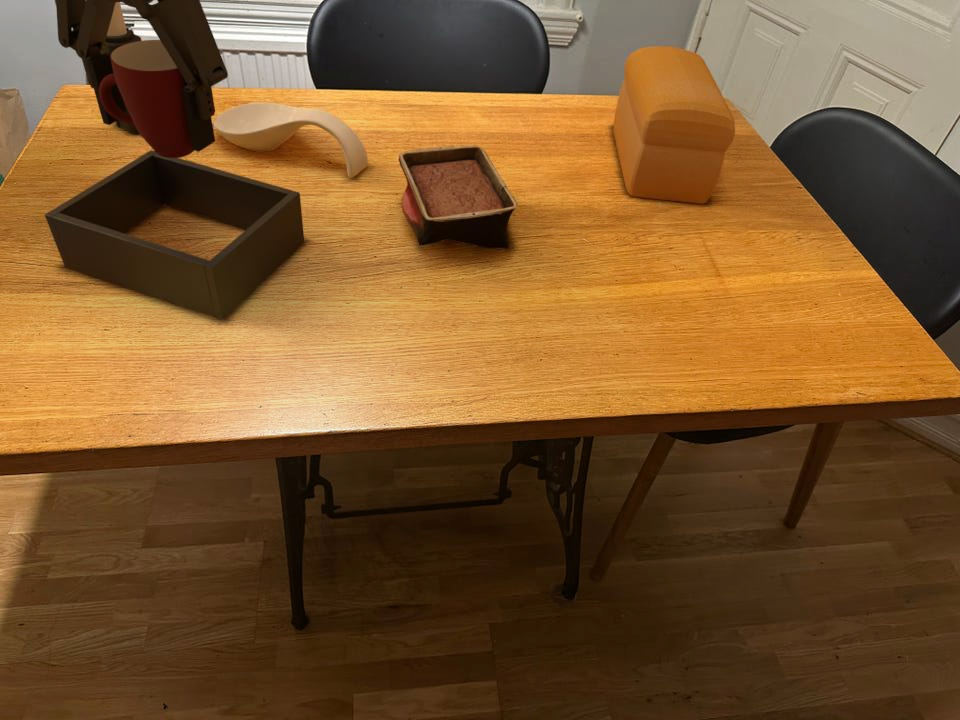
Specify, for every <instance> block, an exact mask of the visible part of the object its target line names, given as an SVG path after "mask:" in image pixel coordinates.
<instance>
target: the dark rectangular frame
mask: <svg viewBox="0 0 960 720" xmlns="http://www.w3.org/2000/svg"><path fill="white" fill-rule="evenodd" d="M163 206H168V207H171V208H175V209H178V210H182V211H185V212H188V213H191V214H195V215H198V216H201V217H205V218H209V219H211V220H214V221H218V222H222V223H225V224H228V225H230V226H231V225H232V226H234V227H237V228H241V229H245V230H244V231H243V232H242V233H240V234H239V235H238V236H237V237H235V239H234V240H232V241H231V242H230V243H229V244H228V245H227V246H225V247H224V248H222V249H221V250H220V251H219V252H218V253H217V254H215V255H214V256H213V257H212V258H211V259H210V260H209V259H207V258H203V257H200V256H197V255H194V254H191V253H187V252H185V251H181V250H179V249H175V248H172V247H168V246H165V245H162V244H160V243H156V242H153V241H150V240H146V239H143V238H141V237H137V236H134V235H130V234H127V231H129V230H131V229H132V228H133V227H135V226H137V225H138V224H139V223H141V222H142V221H143V220H145V219H146V218H148V217H149V216H150V215H152V214H153V213H155V212H156V211H158V210H159V209H161V208H162V207H163ZM44 217H45V220H46V223H47V225H48V228H49V231H50V233H51V235H52V236H51V237H52V238H53V241H54V243H55V246H56V248H57V251H58V254H59V256H60V259H61V261H62V263H63V264H62V265H63V266H64V268H65V269H69V270H72V271H75V272H77V273H81V274H84V275H85V276H86V275H87V276H90V277H92V278H96V279H99V280H101V281H105V282H107V283H111V284H114V285H116V286H120V287H122V288H126V289H128V290H132V291H134V292H138V293H141V294H143V295H147V296H149V297H151V298H152V297H153V298H156V299H159V300H162V301H165V302H167V303H170V304H174V305H176V306H179V307H183V308H185V309H189V310H192V311H195V312H197V313H200V314H204V315H207V316H209V317H212V318H216V319H219V320H222V321H224V320H225V319H226V318H227V317H228V316H229V315H230V314H231V313H233V311H235V309H237V307H239V305H241V304H242V303H243V302H244V301H245V300H246V299H247V298H248V297H249V296H251V294H252V293H253V292H254V291H255V290H256V289H257V288H259V286H260V285H261V284H262V283H263V282H265V281H266V280H267V279H268V278H269V277H270V276H271V275H272V274H273V273H274V272H275V271H276V270H277V269H278V268H279V267H280V266H281V265H282V264H283V263H284V262H285V261H287V259H289V257H290V256H292V255H293V254H294V253H295V252H296V251H297V250H298V249H299V248H300V247H301V246H302V245H303V244H304V243H305V234H304V223H303V212H302V201H301V193H300V192H299V191H297V190H292V189H288V188H286V187H281V186H278V185H275V184H271V183H267V182H265V181H260V180H256V179H254V178H251V177H246V176H243V175H239V174H236V173H232V172H228V171H226V170H222V169H219V168H215V167H213V166H207V165H204V164H200V163H197V162H194V161H191V160H187V159H184V158H181V157H179V158H167V157H163V156H160V155H159V154H157V153H156V152H155V151H154V150H153V149H152V150H151V149H150V150H149V151H147V152H146V153H144V154H142V155H141V156H139V157H137V158H136V159H134V160H133V161H130V162H129V163H127V164H126V165H124V166H122V167H121V168H119V169H117V170H115V171H114V172H113V173H111V174H109V175H107V176H105V177H104V178H103V179H101V180H99V181H98V182H96V183H94V184H92V185H90V186H89V187H88V188H86V189H84V190H82V191H81V192H79V193H77V194H76V195H74V196H73V197H71V198H70V199H68V200H66V201H65V202H63V203H61V204H60V205H58V206H56V207H54V208H53V209H51V210H49V211H48V212H46V213H44Z"/></svg>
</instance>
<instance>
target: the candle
mask: <svg viewBox="0 0 960 720" xmlns="http://www.w3.org/2000/svg"><path fill="white" fill-rule="evenodd" d="M141 37H142V36H140V35H137V34H135V31H134V30H133V29H129V27H127V26H126V22H125V17H124V13H123V10H122V6H121V2H116V3H115V7H114V11H113V14H112V18H111V22H110V26H109V30H108V33H107V37H106V41H105V45H106V46H104V48H105V47H107V46H108V49H106V50H103V51H101V54H104V53H108V54H111V53H112V52H113V51H114V50H115V49H116V48H118V47H120V46H122V45H125V44H128V43H132V42H137V41H143V40H142V38H141ZM124 104H125V102H124ZM125 108H126V112H127V114H129V115H130V113H129V111H128V109H127V106H126V104H125ZM115 124H116V126H117V128H121V129H124V130H126V131H127V132H128V133H129V134H132V135H140V133H139V132H138V130H137V128H136V126H135V125H132V124H128V123H124V122H122V121H119V120H118V121H116V122H115Z"/></svg>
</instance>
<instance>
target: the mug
mask: <svg viewBox="0 0 960 720" xmlns="http://www.w3.org/2000/svg"><path fill="white" fill-rule="evenodd" d="M110 59H111V63H112V68H113V72H114V73H113V74H109V75H107V76H106V77H105V78H104V79H103V80H102V82H101V84H100V87H99V96H100V100H101V102H102V105H103V106H104V108H105V109H106V111H107V112H108V113H109V114H110V115H111V116H113V117H114V118H116V119H117V120H119V121H122V122H124V123H128V124H132V125H135V126H136V128H137V130H138V132H139V133H140V134H139V135H140V136H141V137H142V139H143V140H144V141H145V142H146V143H147V145H148V146H149V147H150V148H151V149H152V151H155V152H156V153H157V154H159V155H160V156H163V157H167V158H183V157H187V156H190V155H191V154H193V153H194V151H195V150H193V148H192V142H191V137H190V132H189V127H188V122H187V117H186V112H185V107H184V101H183V96H182V91H181V87H183V86H184V85H186V84H187V83H186V81H185V79H184V78H183V76H182V75H181V73H180V71H179V70H178V68H177V66H176V65H175V63H174V62H173V60H172V58H171V57H170V55H169V54H168V52H167V50H166V49H165V47H164V46H163V44H162V42H161V41H160V39H145V40H142V41H137V42H132V43H128V44H125V45H122V46H120V47H118V48H116V49H115V50H114V51H113V52H112V53H111V55H110ZM194 72H195V73H197V71H196V70H194ZM113 85H117V86H118V88H119V91H120V93H121V95H122V98H123V100H124V102H125V104H126V106H127V109H128V111H129V113H130V115H129V114H127V113H125V112H123V111H122V110H121V109H119V108H118V106H117V105H116V104H115V102H114V100H113V98H112V95H111V88H112V86H113Z"/></svg>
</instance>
